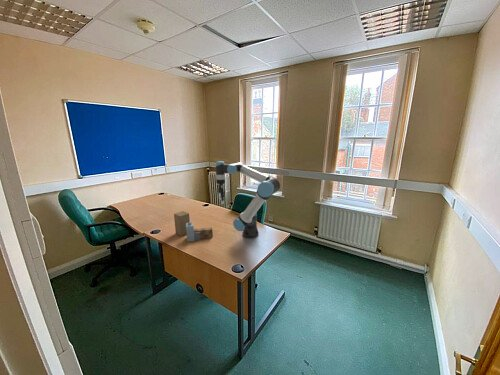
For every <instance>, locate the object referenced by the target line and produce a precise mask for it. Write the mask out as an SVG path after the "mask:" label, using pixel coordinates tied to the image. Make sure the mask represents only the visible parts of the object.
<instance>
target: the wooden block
mask: <svg viewBox="0 0 500 375" xmlns="http://www.w3.org/2000/svg"><path fill="white" fill-rule="evenodd" d="M173 219H174V227H175V234H176V235H178V236H180V237H184V236H187V231H186V223H188V222H191V221H190V213H189V212H187V211H184V210H183V211H179V212H175V213H173Z"/></svg>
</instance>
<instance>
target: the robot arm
mask: <svg viewBox="0 0 500 375" xmlns="http://www.w3.org/2000/svg"><path fill="white" fill-rule="evenodd" d="M237 172H238V174H239V173H240V174H242V175H243V176H246V177H247V178H249V179H252V180H255V181H257V182H259V184H258V186H257V188H256V189H257V190H256V195H255V196H254V197H253V198H252V200H251V202H250V203H249V204H248V205H247V207H246V208H245V210H244V211H243V212H242V211H241V213H240V214H239V215H238V216H237V217H236V218H234V220H233V221H232V225H233V227H234V229H235V231H238V232H241V233H242V237H244V238H249V239H253V238H257V237H258V236H259V234H260V233H259V228H258V225H257V223H258V215H257V214H258V213H257V212H258V211H259V209H261V207H262V205H263V204H264V203H265V202H266V201H269V200H270V198H271V197H272V196H273V195H274V194H276V193H277V192H279V191H280V189H281V182H280V180H279V179H277V178H276V177H273V176H271V175H266V174H264V173H262V172H259V171H257V170H256V169H254V168H250V167H249V166H246V165H245V164H244V163H243V162H237V163H228V164H227V163H225V161H222V160H219V161H215V177H216V179H215V180H216V181H215V182H216V184H217V186H218V188H217V189H218V190H217V192H218V200H219V201H220V205H224V204H225V190H224V184H226V176H225V174H229V175H231V174H232V175H234V174H236V173H237Z"/></svg>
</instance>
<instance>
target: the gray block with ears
mask: <svg viewBox="0 0 500 375" xmlns="http://www.w3.org/2000/svg"><path fill="white" fill-rule="evenodd" d="M194 226H195V225H194V222H193V221H192V222H191V221H190V222H188V223H186V231H187V234H186V241H187V242H194V241H200V240H201V239H200V232H195V233H194V229H195V228H194Z"/></svg>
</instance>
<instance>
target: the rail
mask: <svg viewBox="0 0 500 375" xmlns="http://www.w3.org/2000/svg"><path fill="white" fill-rule="evenodd" d="M195 232H200V240H201V239H208V238H210V239H211V238H213V237H214V236H213V232H214V231H213V227H203V228H194V233H195Z"/></svg>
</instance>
